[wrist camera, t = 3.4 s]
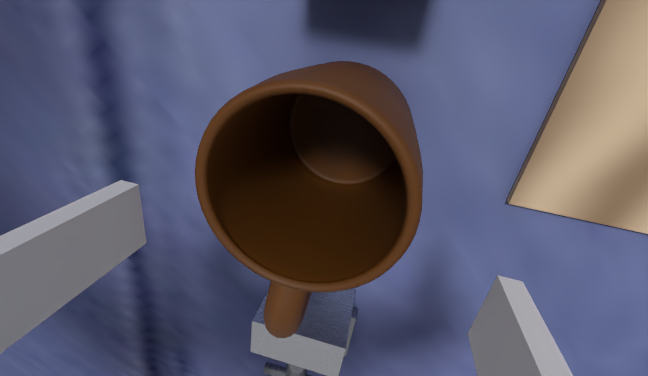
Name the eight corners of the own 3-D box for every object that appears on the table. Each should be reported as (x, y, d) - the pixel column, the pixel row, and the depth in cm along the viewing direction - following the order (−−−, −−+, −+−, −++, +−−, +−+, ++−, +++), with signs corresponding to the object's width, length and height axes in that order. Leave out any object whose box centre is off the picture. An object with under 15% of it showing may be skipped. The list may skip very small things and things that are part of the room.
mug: (370, 256, 21) (353, 393, 13) (268, 224, 22) (188, 334, 14) (433, 78, 16) (474, 115, 7) (294, 44, 16) (187, 43, 8)
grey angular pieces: (267, 335, 27) (242, 391, 23) (314, -215, 12) (266, -364, 8) (344, 358, 26) (333, 422, 22) (496, -206, 11) (561, -370, 7)
